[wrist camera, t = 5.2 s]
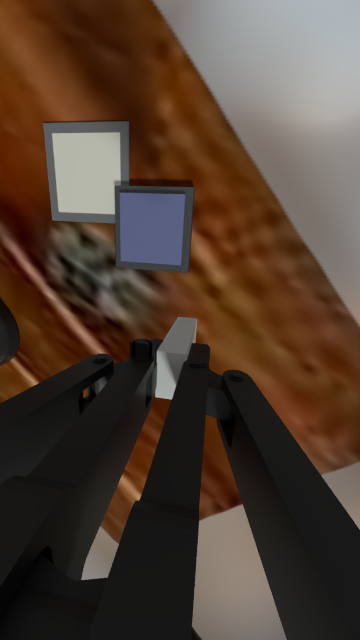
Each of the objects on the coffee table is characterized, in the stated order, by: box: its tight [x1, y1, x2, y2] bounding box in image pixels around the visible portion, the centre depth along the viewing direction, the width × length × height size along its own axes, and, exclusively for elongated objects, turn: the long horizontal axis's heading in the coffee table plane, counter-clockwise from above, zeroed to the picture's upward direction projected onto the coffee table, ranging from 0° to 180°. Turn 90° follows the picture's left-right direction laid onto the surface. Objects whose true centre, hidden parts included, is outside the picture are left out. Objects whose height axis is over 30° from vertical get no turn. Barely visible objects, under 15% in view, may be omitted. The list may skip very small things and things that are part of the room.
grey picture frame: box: [43, 121, 130, 223], centre depth 32 cm, size 12×12×1 cm
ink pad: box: [115, 186, 195, 273], centre depth 32 cm, size 11×11×2 cm
